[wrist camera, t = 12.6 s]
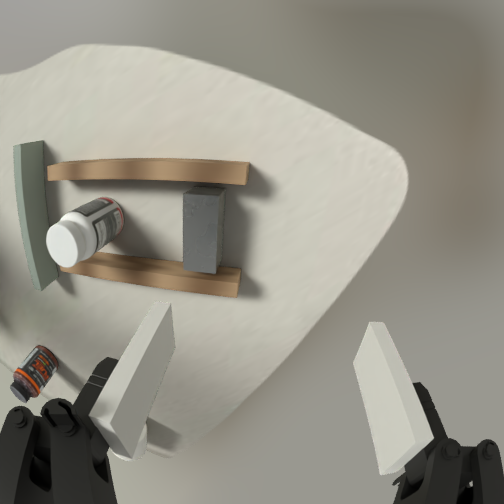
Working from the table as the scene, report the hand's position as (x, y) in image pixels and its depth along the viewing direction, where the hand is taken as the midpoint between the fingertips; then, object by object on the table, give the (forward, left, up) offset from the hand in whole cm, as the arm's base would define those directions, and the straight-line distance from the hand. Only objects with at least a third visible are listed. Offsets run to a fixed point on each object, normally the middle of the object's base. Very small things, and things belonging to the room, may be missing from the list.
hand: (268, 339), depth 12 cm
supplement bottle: (-38, -28, -16) cm, 50 cm away
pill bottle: (-18, 0, -16) cm, 24 cm away
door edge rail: (-28, 0, -16) cm, 32 cm away
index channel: (-13, 0, -16) cm, 20 cm away
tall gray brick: (-6, 0, -16) cm, 17 cm away
